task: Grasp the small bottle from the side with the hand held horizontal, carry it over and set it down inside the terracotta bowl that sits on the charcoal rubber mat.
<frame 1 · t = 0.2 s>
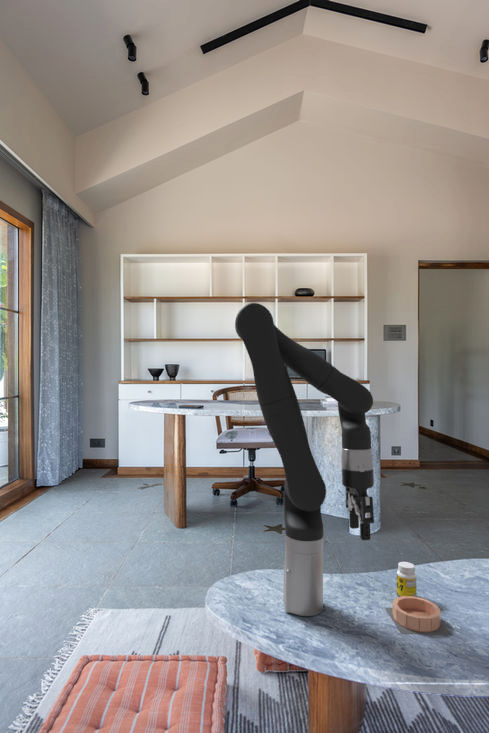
hand: (359, 533, 106), 18 cm above the table, tool pointing down, fingers open, 8 cm apart
mat: (416, 621, 99), on the table
supplement bottle: (406, 599, 110), on the table
bowl: (416, 620, 99), resting on mat
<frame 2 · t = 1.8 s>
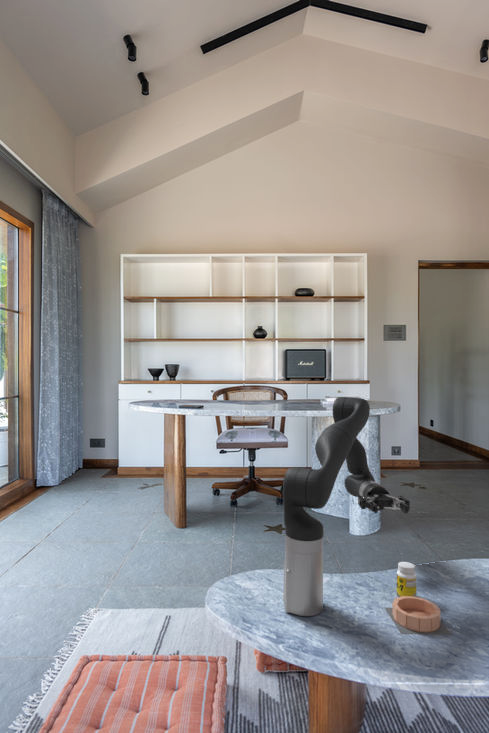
hand: (391, 509, 122), 19 cm above the table, tool horizontal, fingers open, 8 cm apart
nothing on the table moved.
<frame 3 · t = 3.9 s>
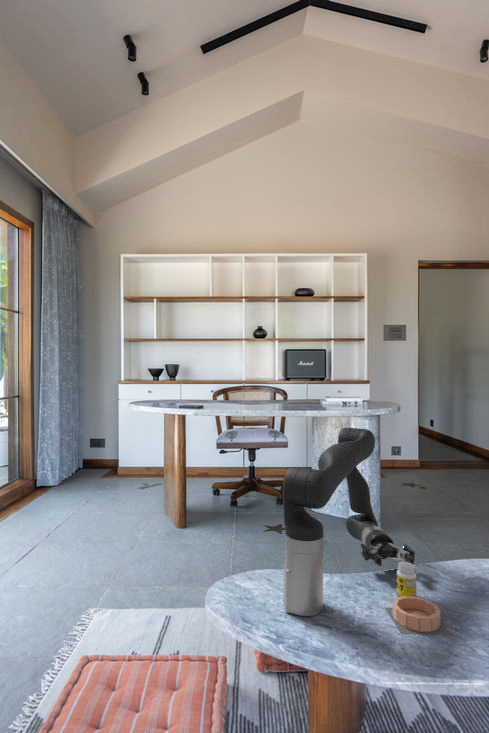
hand: (396, 562, 118), 6 cm above the table, tool horizontal, fingers open, 8 cm apart
nothing on the table moved.
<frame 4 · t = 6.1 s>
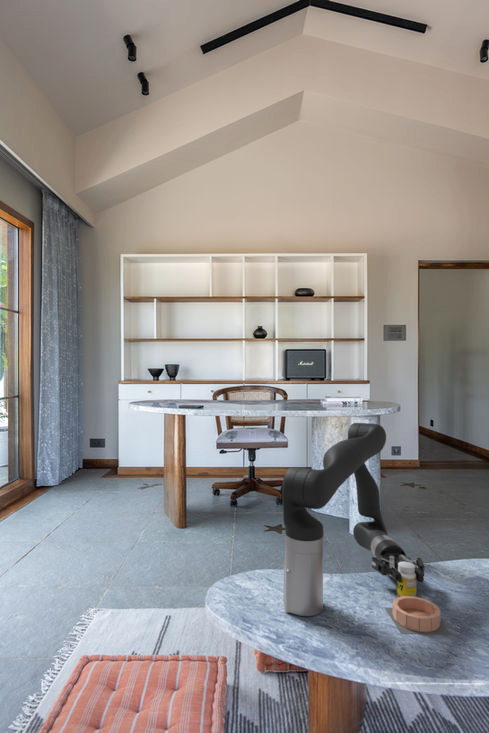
hand: (410, 578, 108), 6 cm above the table, tool horizontal, fingers closed on supplement bottle, 4 cm apart
supplement bottle: (406, 598, 110), on the table, touching gripper
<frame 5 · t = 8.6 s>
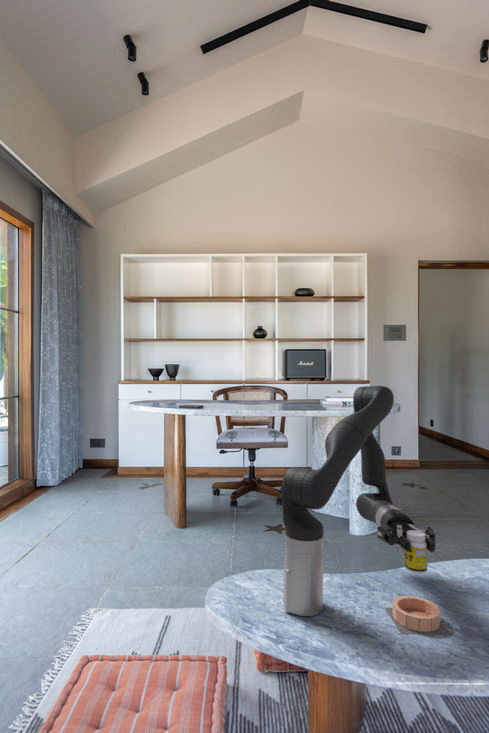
hand: (420, 547, 98), 18 cm above the table, tool horizontal, fingers closed on supplement bottle, 4 cm apart
supplement bottle: (415, 570, 100), point 11 cm above the table, touching gripper
when the fingers open (8 cm above the table, at t = 11.2 s): supplement bottle drops 1 cm, resting on bowl.
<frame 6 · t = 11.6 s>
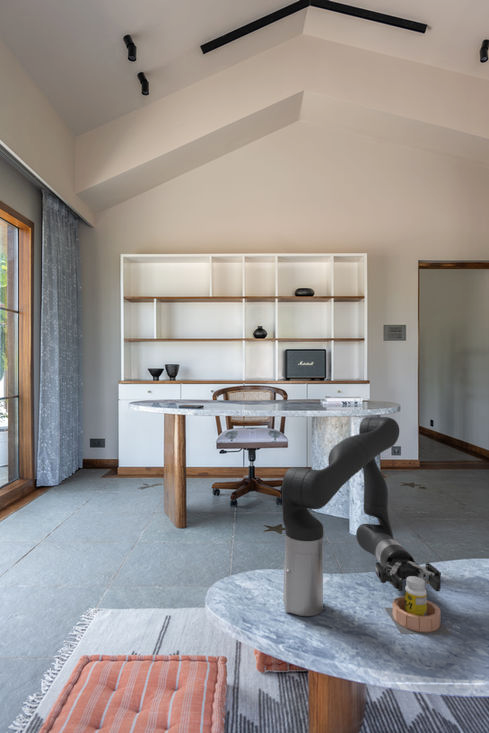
hand: (419, 587, 98), 9 cm above the table, tool horizontal, fingers open, 8 cm apart
supplement bottle: (415, 618, 100), point 1 cm above the table, touching bowl
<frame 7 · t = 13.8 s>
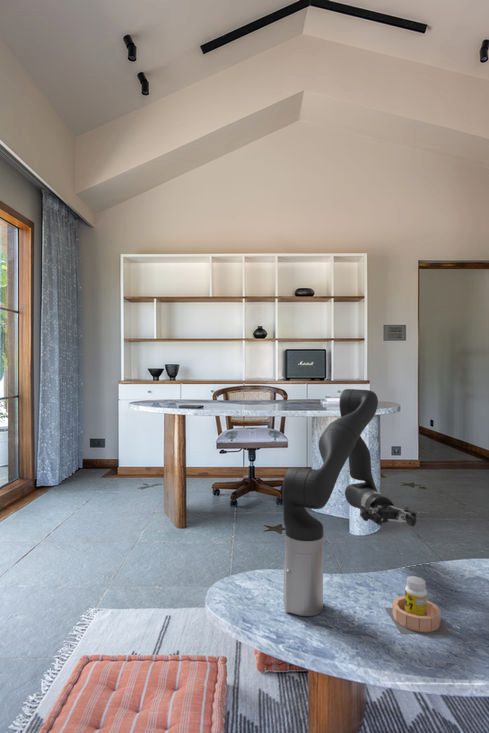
hand: (396, 521, 112), 19 cm above the table, tool horizontal, fingers open, 8 cm apart
nothing on the table moved.
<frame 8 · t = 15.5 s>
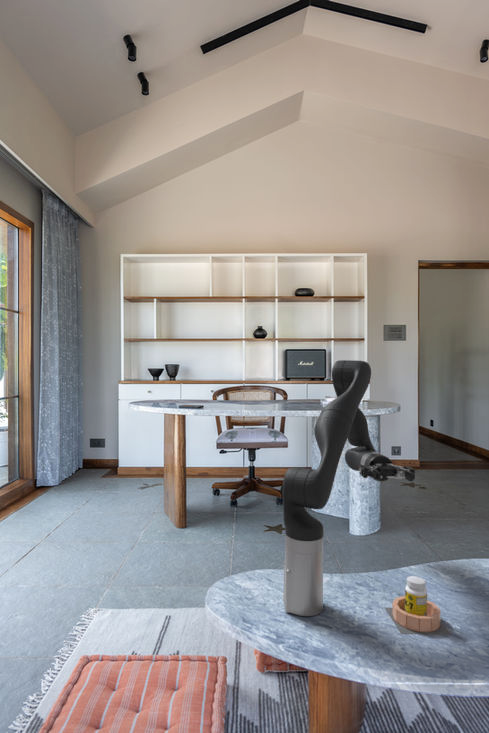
hand: (395, 477, 114), 30 cm above the table, tool horizontal, fingers open, 8 cm apart
nothing on the table moved.
at the end: supplement bottle 0.1 cm from the bowl (horizontally); supplement bottle point 0.7 cm above the table; supplement bottle tilted 1° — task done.
